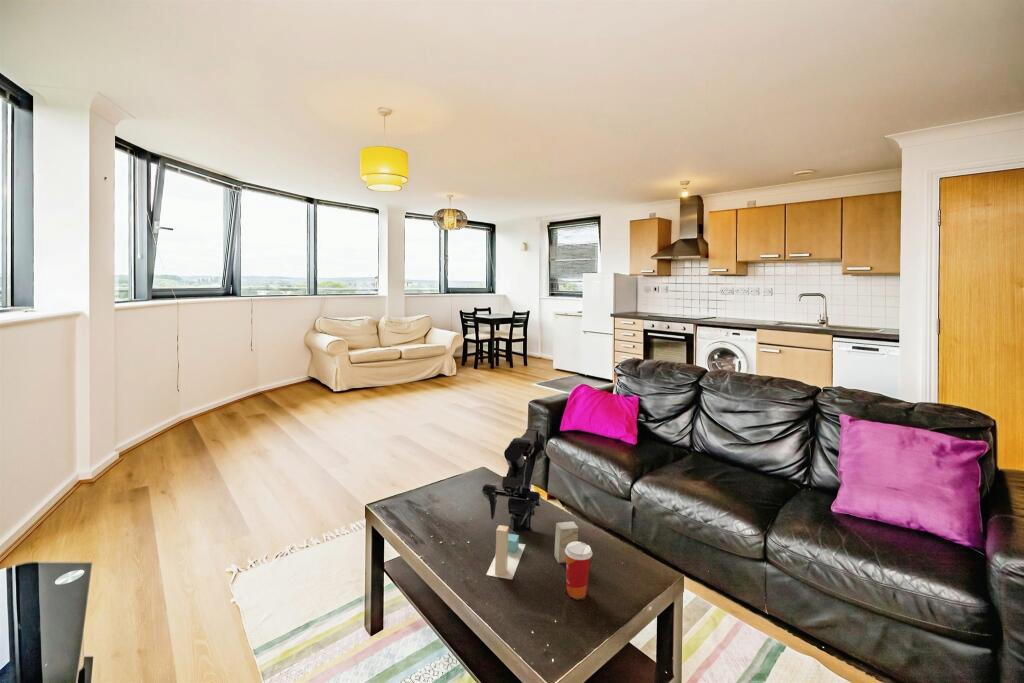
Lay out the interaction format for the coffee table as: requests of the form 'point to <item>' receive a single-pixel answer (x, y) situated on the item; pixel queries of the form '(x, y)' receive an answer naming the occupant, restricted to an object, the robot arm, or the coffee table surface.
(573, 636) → the coffee table surface
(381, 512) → the coffee table surface
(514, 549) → the teal block
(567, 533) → the skincare box
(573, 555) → the paper cup
